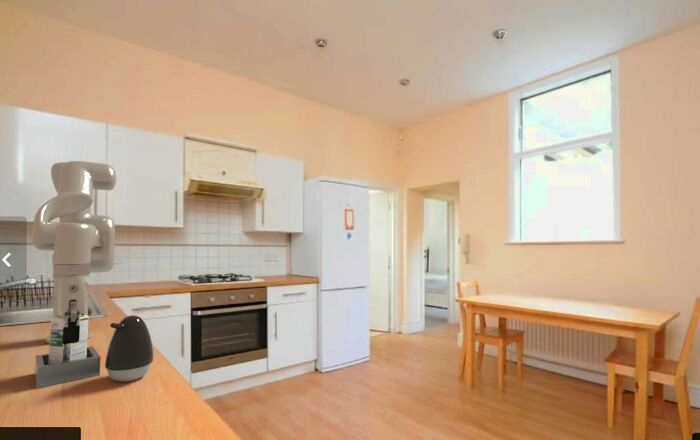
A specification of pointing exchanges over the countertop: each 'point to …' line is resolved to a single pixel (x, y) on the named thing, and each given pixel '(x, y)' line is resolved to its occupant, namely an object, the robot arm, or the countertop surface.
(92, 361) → the gray square open frame
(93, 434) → the countertop surface
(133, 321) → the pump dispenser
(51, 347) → the syrup box
